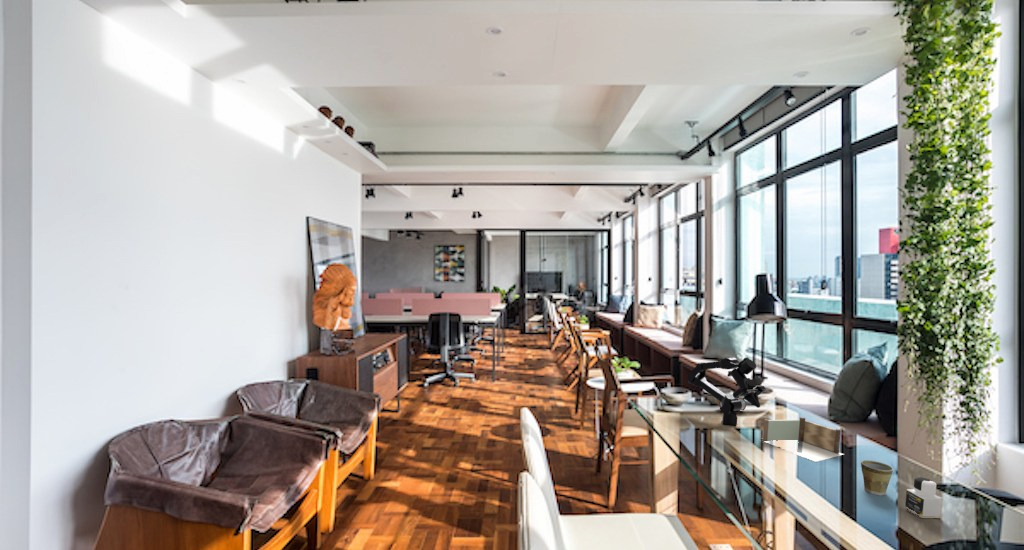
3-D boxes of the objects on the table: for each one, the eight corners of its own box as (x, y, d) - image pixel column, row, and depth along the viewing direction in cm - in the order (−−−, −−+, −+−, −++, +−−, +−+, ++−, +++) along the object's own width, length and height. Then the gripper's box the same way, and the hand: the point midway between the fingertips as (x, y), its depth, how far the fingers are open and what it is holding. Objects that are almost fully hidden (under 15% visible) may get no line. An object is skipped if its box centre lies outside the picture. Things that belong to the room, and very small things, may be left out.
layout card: (756, 440, 249) (757, 439, 249) (785, 434, 260) (785, 433, 260) (815, 462, 225) (815, 461, 225) (844, 455, 236) (844, 454, 236)
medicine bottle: (904, 508, 186) (907, 475, 185) (923, 508, 186) (926, 475, 186) (921, 519, 179) (924, 484, 178) (941, 519, 179) (944, 484, 179)
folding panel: (795, 439, 252) (797, 418, 252) (798, 441, 250) (800, 420, 250) (761, 440, 249) (763, 419, 248) (764, 441, 247) (765, 420, 246)
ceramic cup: (892, 500, 192) (894, 473, 192) (859, 492, 197) (861, 466, 197) (889, 487, 203) (891, 462, 203) (858, 480, 208) (860, 455, 208)
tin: (744, 411, 299) (745, 396, 299) (746, 412, 296) (747, 397, 296) (717, 409, 301) (718, 394, 300) (718, 410, 297) (719, 395, 297)
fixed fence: (796, 440, 252) (798, 417, 252) (799, 439, 253) (801, 416, 253) (837, 454, 236) (839, 429, 235) (840, 453, 237) (842, 429, 236)
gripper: (739, 372, 257) (758, 400, 248) (763, 369, 266) (782, 397, 257) (724, 384, 264) (742, 412, 255) (748, 381, 273) (766, 408, 264)
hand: (759, 407), depth 258 cm, fingers closed
